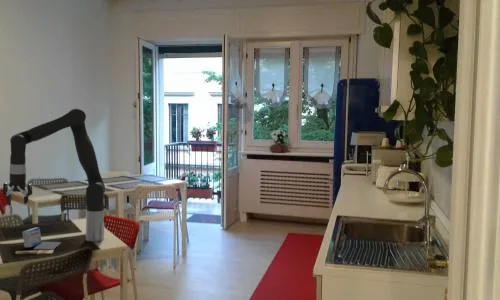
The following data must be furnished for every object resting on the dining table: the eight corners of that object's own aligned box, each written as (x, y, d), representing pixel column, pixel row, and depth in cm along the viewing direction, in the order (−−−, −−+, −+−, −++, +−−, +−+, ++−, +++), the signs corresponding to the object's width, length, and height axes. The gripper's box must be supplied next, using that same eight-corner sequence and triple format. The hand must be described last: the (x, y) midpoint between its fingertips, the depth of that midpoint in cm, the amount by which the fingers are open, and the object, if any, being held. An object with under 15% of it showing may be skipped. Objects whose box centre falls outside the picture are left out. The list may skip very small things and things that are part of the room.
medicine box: (31, 247, 220) (29, 230, 220) (24, 247, 221) (21, 231, 221) (42, 243, 228) (39, 227, 227) (34, 243, 229) (32, 227, 228)
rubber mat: (61, 243, 232) (61, 242, 232) (53, 250, 220) (53, 249, 220) (42, 242, 231) (42, 241, 231) (33, 249, 219) (33, 248, 219)
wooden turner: (53, 251, 218) (53, 249, 218) (52, 253, 214) (52, 251, 214) (17, 252, 214) (17, 250, 213) (14, 255, 209) (14, 253, 209)
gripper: (35, 172, 226) (34, 202, 227) (8, 170, 225) (7, 200, 227) (27, 174, 218) (27, 205, 219) (0, 172, 218) (-1, 203, 219)
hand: (17, 202), depth 223 cm, fingers open, 8 cm apart
